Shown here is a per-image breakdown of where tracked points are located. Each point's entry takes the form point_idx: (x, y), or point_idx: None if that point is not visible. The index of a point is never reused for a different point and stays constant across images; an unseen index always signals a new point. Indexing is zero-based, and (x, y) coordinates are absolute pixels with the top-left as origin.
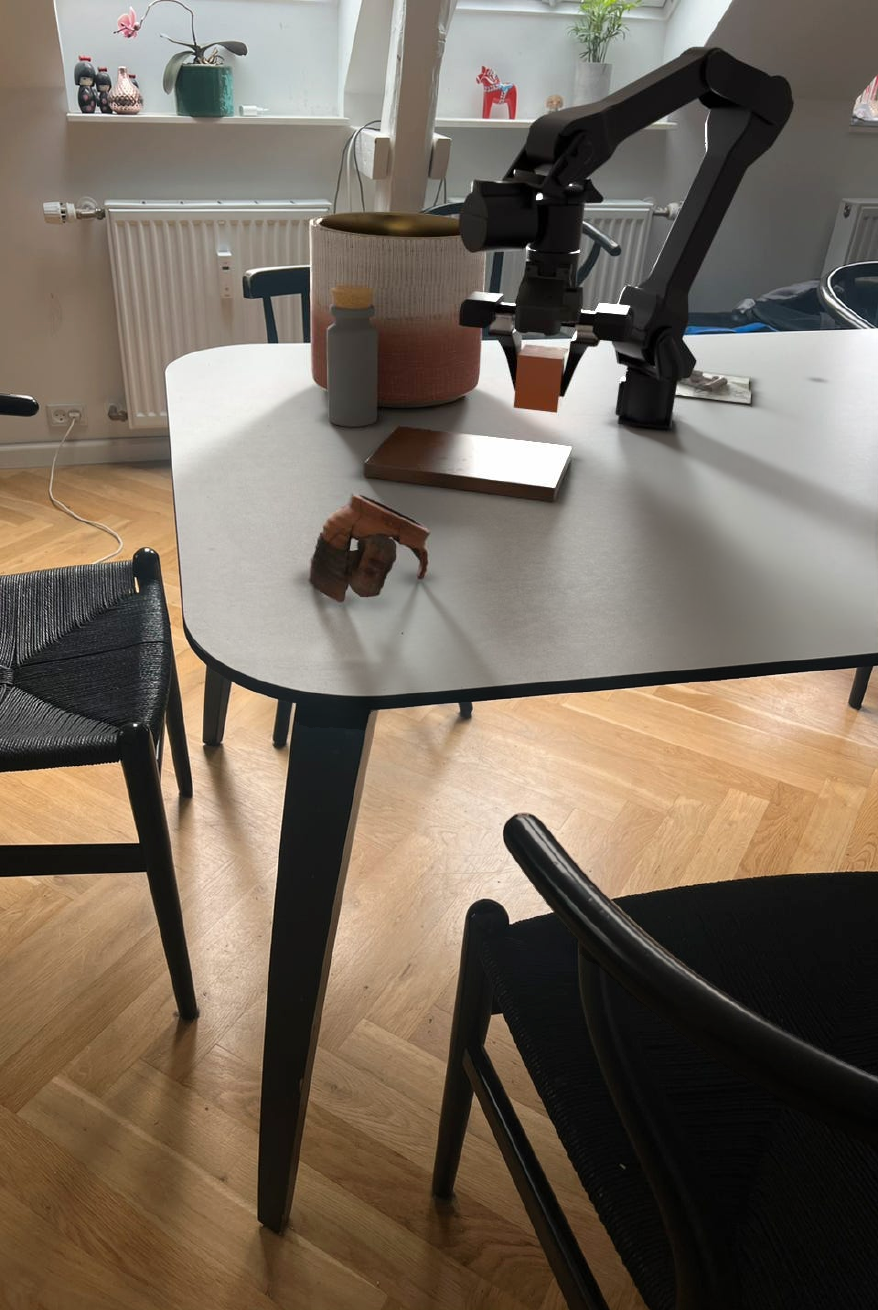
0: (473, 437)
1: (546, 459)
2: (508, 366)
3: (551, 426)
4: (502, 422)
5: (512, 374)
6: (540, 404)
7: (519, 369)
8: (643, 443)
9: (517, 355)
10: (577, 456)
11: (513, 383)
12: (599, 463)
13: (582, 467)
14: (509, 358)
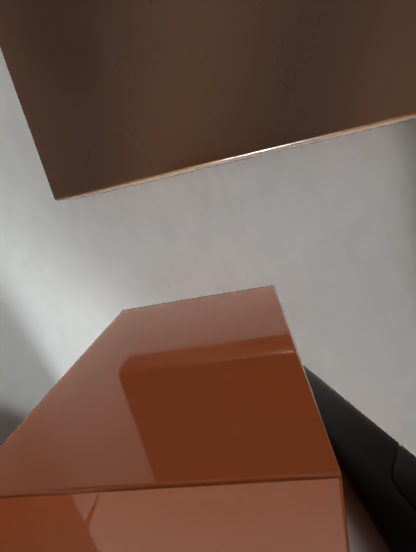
0: (353, 96)
1: (55, 29)
2: (385, 432)
3: None
4: (329, 371)
5: (338, 404)
6: (174, 310)
7: (287, 379)
8: (11, 384)
9: (364, 533)
10: (76, 235)
11: (317, 380)
12: (13, 216)
13: (28, 163)
14: (412, 477)
